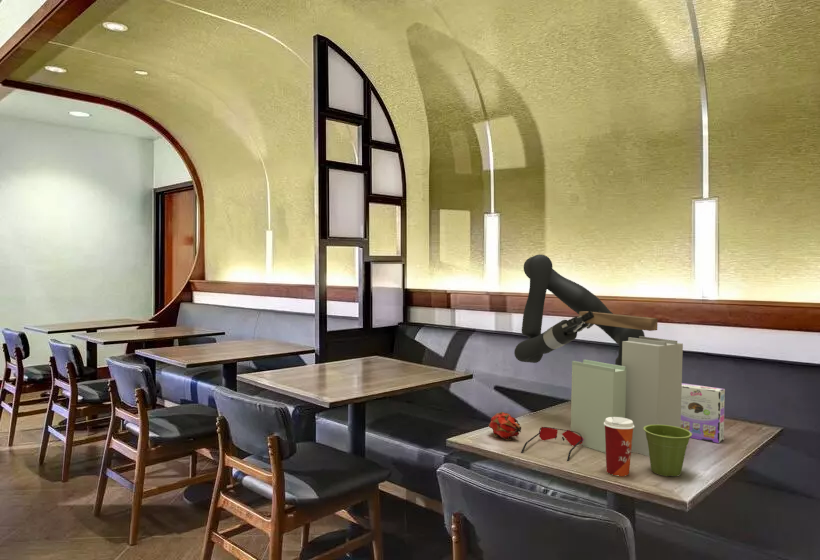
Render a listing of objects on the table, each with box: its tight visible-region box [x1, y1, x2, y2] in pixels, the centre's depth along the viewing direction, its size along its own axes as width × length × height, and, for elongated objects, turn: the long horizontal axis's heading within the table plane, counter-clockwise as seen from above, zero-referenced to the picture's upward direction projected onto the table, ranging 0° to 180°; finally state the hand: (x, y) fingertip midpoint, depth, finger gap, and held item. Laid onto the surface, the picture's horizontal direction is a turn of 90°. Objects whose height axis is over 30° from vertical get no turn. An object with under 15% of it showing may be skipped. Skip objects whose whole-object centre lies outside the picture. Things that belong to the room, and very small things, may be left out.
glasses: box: [520, 426, 583, 462], centre depth 174 cm, size 14×16×5 cm
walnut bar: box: [578, 311, 659, 332], centre depth 185 cm, size 4×26×4 cm, turn 35°
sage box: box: [570, 359, 626, 454], centre depth 178 cm, size 6×15×25 cm, turn 35°
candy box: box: [681, 382, 726, 444], centre depth 189 cm, size 14×6×16 cm, turn 47°
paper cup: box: [604, 417, 635, 477], centre depth 156 cm, size 8×8×14 cm
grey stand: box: [622, 336, 684, 458], centre depth 175 cm, size 12×12×33 cm
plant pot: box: [643, 424, 692, 477], centre depth 156 cm, size 12×12×11 cm
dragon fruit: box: [488, 411, 522, 441], centre depth 186 cm, size 8×8×12 cm
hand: (596, 313), depth 191 cm, fingers closed on walnut bar, 3 cm apart
